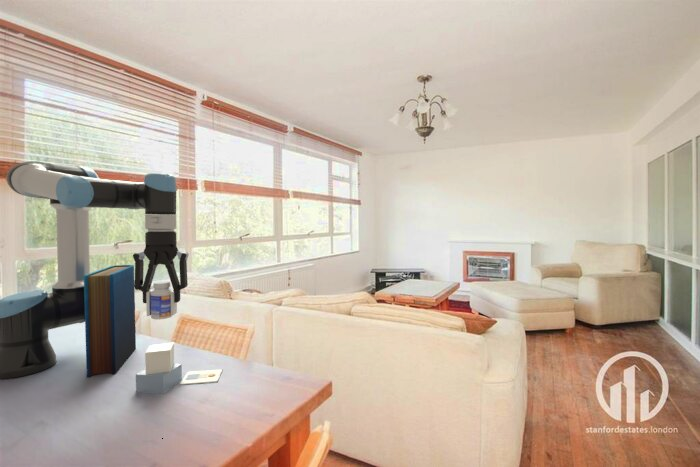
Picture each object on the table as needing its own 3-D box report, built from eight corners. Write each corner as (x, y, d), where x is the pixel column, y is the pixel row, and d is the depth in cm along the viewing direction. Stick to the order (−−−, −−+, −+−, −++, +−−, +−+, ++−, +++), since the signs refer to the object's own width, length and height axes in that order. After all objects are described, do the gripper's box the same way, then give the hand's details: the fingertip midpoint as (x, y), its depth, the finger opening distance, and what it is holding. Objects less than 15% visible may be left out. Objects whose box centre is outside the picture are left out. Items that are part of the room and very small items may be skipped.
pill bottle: (163, 320, 92) (163, 284, 92) (145, 319, 94) (145, 283, 93) (177, 315, 98) (177, 281, 97) (160, 313, 99) (160, 280, 98)
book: (110, 349, 124) (107, 265, 123) (138, 346, 127) (136, 264, 125) (80, 378, 101) (77, 275, 100) (115, 374, 104) (113, 274, 102)
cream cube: (145, 374, 93) (145, 352, 93) (150, 365, 98) (150, 345, 98) (170, 371, 95) (170, 349, 94) (174, 362, 100) (173, 342, 100)
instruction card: (179, 384, 97) (179, 383, 97) (187, 372, 105) (187, 371, 105) (217, 382, 99) (217, 380, 99) (222, 370, 107) (222, 368, 106)
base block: (136, 392, 93) (135, 374, 93) (156, 379, 101) (156, 362, 101) (163, 394, 92) (163, 376, 92) (181, 380, 100) (181, 363, 100)
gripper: (117, 230, 89) (118, 319, 90) (193, 231, 93) (193, 316, 94) (130, 229, 97) (131, 311, 98) (200, 230, 100) (200, 309, 101)
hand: (161, 314), depth 96 cm, fingers closed on pill bottle, 5 cm apart
